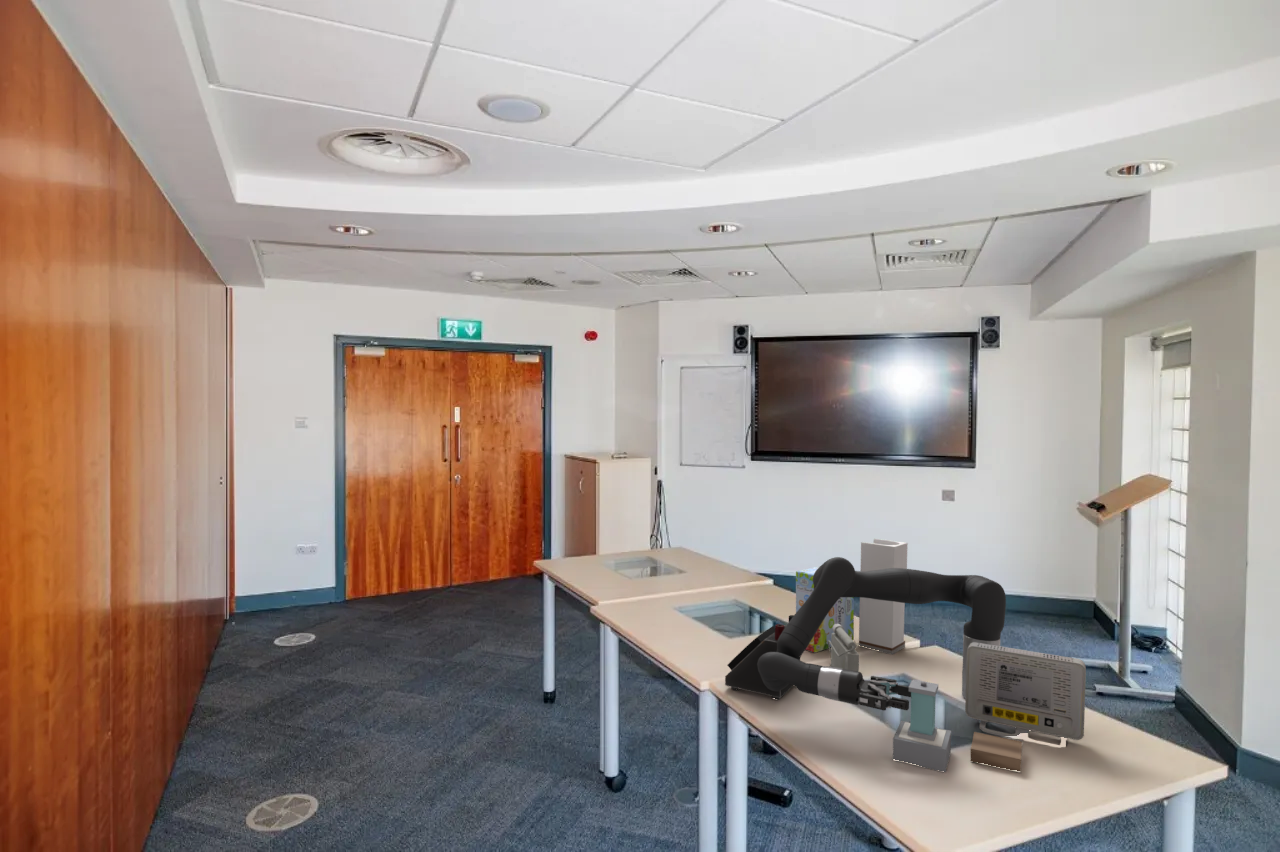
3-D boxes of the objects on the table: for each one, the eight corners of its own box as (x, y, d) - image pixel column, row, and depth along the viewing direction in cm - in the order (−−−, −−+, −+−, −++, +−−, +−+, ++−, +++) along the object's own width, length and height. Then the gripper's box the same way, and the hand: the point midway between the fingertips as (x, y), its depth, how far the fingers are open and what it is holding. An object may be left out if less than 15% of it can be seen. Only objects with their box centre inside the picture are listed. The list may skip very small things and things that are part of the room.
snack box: (833, 635, 255) (835, 562, 255) (854, 641, 248) (856, 566, 248) (793, 646, 242) (794, 569, 241) (814, 653, 235) (816, 574, 234)
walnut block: (973, 744, 172) (974, 731, 172) (1021, 754, 167) (1021, 741, 167) (970, 761, 163) (970, 748, 163) (1020, 773, 158) (1021, 759, 158)
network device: (1083, 739, 176) (1085, 657, 175) (1083, 754, 168) (1086, 668, 168) (967, 715, 189) (969, 638, 188) (963, 727, 181) (965, 648, 181)
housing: (911, 726, 169) (912, 676, 169) (937, 731, 166) (938, 681, 166) (907, 735, 164) (908, 684, 164) (933, 741, 162) (935, 689, 161)
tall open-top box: (904, 646, 243) (907, 542, 243) (891, 654, 236) (894, 546, 235) (872, 639, 251) (874, 538, 250) (858, 646, 243) (861, 542, 242)
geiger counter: (863, 643, 202) (840, 618, 227) (840, 642, 202) (820, 617, 227) (862, 693, 202) (839, 662, 227) (839, 692, 203) (819, 661, 228)
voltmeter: (746, 672, 217) (747, 606, 216) (799, 684, 208) (801, 614, 208) (724, 690, 203) (725, 618, 203) (780, 703, 195) (781, 628, 194)
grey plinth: (900, 741, 173) (901, 719, 173) (950, 752, 168) (951, 729, 167) (892, 760, 163) (893, 737, 163) (945, 772, 158) (946, 749, 158)
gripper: (833, 678, 168) (907, 692, 160) (847, 660, 180) (916, 673, 172) (832, 710, 168) (906, 726, 160) (846, 690, 180) (915, 704, 173)
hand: (911, 698), depth 166 cm, fingers open, 8 cm apart
